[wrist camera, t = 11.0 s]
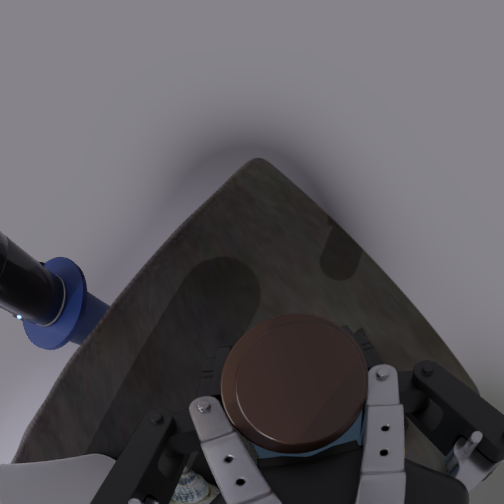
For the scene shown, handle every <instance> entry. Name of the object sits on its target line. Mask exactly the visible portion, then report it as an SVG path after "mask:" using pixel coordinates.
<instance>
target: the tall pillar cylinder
mask: <svg viewBox="0 0 504 504" xmlns="http://www.w3.org/2000/svg"><path fill="white" fill-rule="evenodd" d="M115 462H116V461H115V460H114V459H112V458H110V457H108V456H105V455H102V454H89V455H84V456H78V457H73V458H66V459H60V460H53V461H44V462H34V463H21V464H0V504H90V503H91V501H92V499H93V498H94V496H95V495H96V493H97V491H98V490H99V488H100V486H101V485H102V483H103V482H104V480H105V478H106V477H107V475H108V473H109V472H110V470H111V469H112V467H113V465H114V464H115Z"/></svg>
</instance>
